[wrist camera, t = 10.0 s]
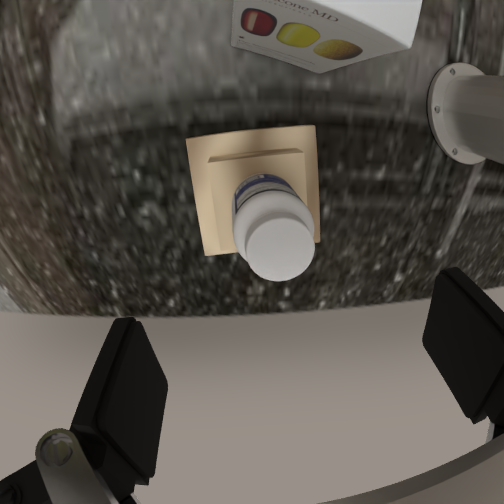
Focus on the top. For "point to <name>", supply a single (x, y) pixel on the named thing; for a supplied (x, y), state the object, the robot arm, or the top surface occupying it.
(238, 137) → the plinth
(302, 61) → the supplement box
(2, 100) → the top surface
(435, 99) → the robot arm
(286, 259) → the pill bottle
